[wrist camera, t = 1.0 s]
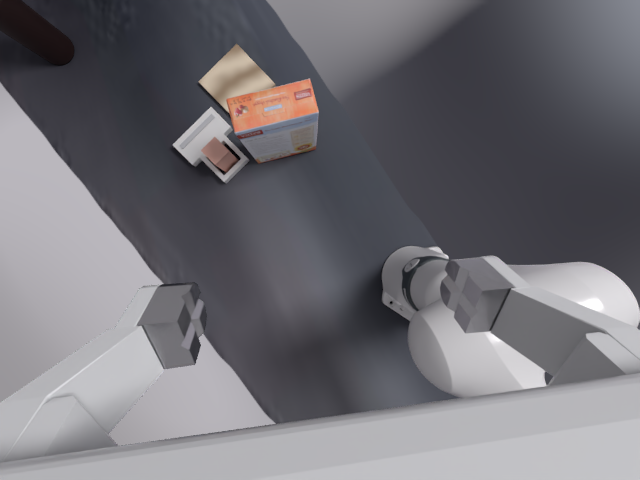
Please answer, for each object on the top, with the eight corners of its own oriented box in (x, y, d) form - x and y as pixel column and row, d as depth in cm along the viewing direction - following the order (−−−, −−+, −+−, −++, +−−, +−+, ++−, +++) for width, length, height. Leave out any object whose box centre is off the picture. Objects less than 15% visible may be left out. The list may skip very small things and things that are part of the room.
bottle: (62, 72, 61) (-56, -2, 41) (36, 51, 61) (-95, -34, 41) (81, 48, 61) (-27, -37, 41) (56, 27, 61) (-66, -69, 41)
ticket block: (238, 160, 64) (229, 151, 56) (226, 172, 64) (215, 164, 56) (226, 147, 64) (214, 136, 56) (213, 160, 64) (200, 150, 56)
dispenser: (256, 153, 64) (254, 151, 62) (219, 190, 64) (216, 188, 62) (214, 110, 63) (210, 106, 61) (176, 147, 63) (171, 144, 61)
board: (275, 86, 64) (275, 84, 63) (238, 123, 64) (237, 121, 63) (237, 46, 63) (236, 43, 62) (200, 83, 63) (198, 81, 62)
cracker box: (310, 124, 65) (311, 76, 44) (316, 150, 65) (320, 114, 44) (251, 138, 64) (224, 96, 43) (257, 164, 64) (234, 134, 44)
